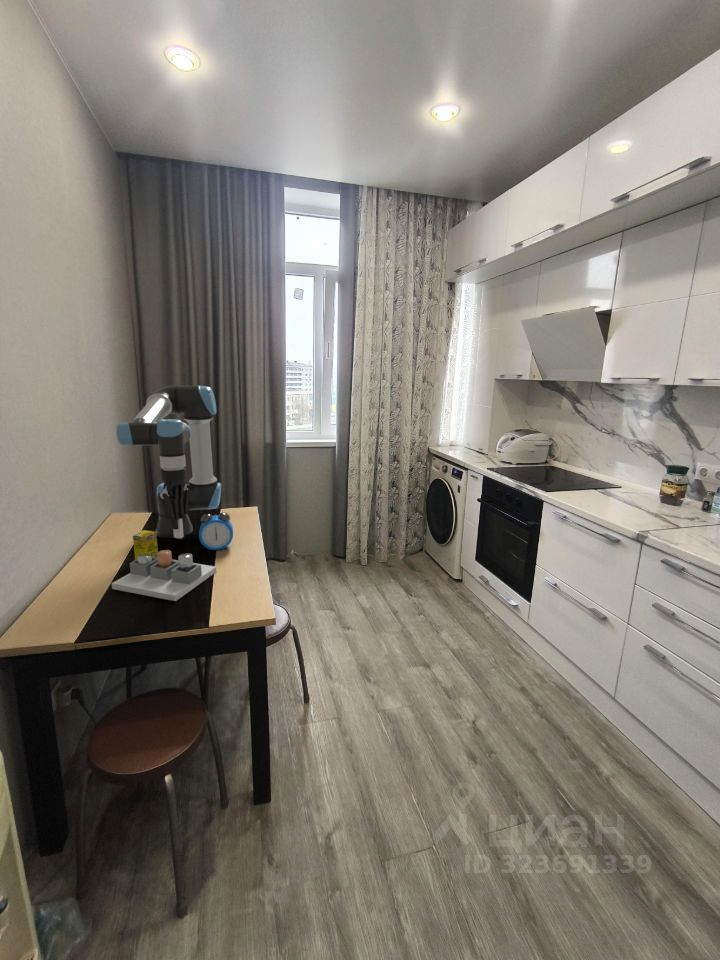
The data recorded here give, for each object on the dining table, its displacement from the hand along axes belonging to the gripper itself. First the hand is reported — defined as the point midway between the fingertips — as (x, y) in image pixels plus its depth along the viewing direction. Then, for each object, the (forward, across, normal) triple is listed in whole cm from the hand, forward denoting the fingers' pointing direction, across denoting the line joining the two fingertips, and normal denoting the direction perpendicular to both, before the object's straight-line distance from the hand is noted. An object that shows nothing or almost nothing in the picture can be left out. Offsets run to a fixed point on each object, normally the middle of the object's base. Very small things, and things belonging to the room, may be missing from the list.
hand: (178, 537), depth 145 cm
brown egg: (+12, -1, -7) cm, 14 cm away
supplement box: (+17, -11, -25) cm, 32 cm away
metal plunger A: (+14, 0, -16) cm, 21 cm away
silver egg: (+12, -1, +1) cm, 12 cm away
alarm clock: (+17, -31, -8) cm, 36 cm away
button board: (+17, -1, -7) cm, 18 cm away
